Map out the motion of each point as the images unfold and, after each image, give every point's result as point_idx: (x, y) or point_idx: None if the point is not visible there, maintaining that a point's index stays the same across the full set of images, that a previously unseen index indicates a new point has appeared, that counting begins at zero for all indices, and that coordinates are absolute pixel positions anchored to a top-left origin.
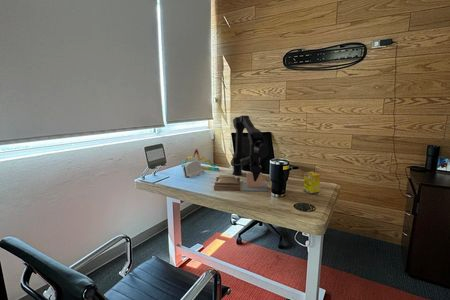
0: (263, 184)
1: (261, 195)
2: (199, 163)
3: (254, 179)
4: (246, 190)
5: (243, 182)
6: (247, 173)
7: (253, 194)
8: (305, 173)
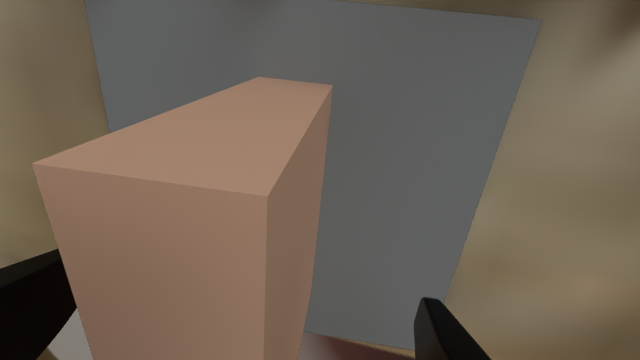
0: (351, 319)
1: (16, 212)
2: None
3: (24, 275)
4: (96, 47)
5: (516, 45)
6: (79, 200)
7: (12, 129)
8: None
